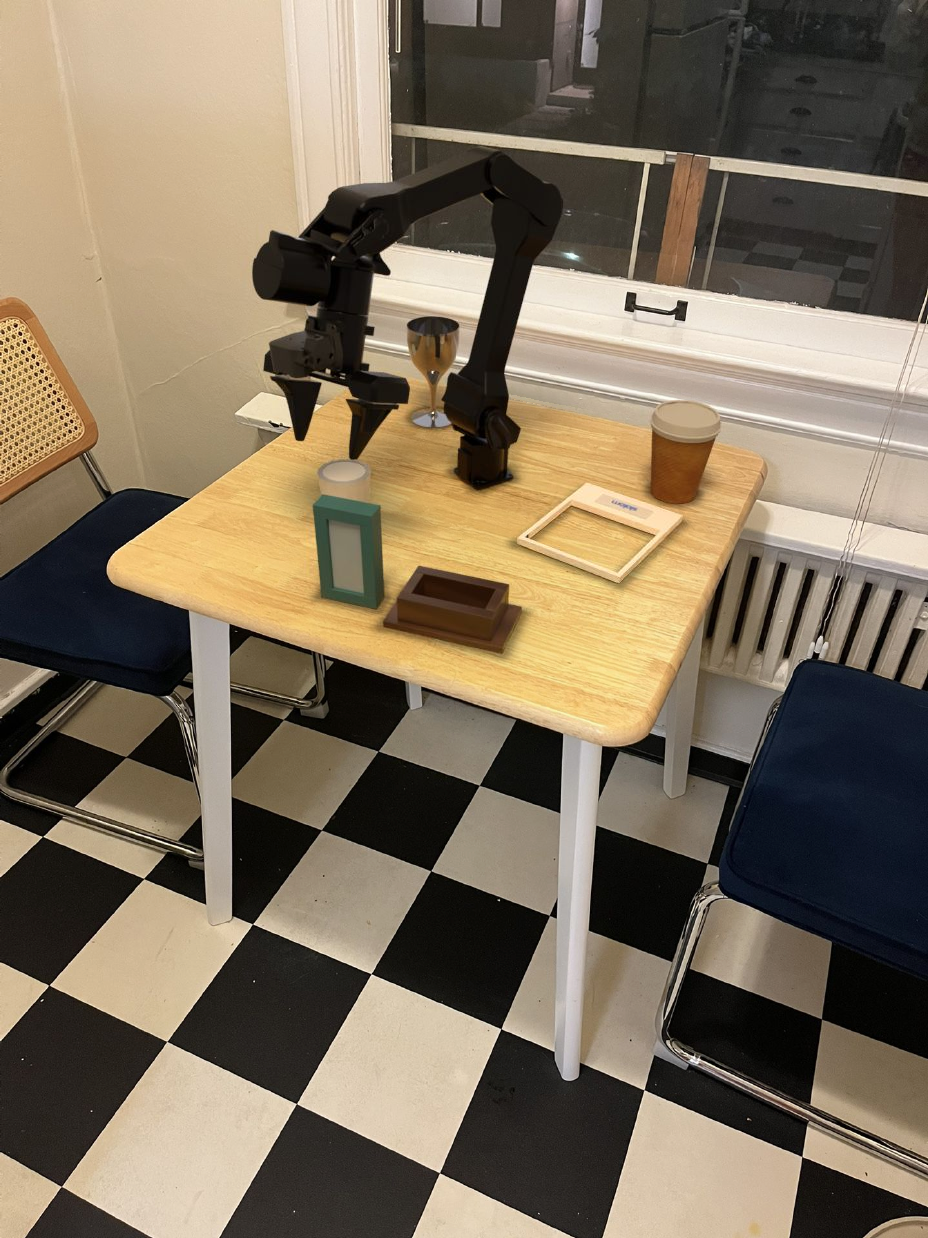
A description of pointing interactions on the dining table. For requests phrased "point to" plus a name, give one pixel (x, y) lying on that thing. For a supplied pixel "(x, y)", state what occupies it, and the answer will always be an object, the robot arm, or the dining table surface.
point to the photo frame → (614, 509)
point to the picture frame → (349, 550)
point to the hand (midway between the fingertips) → (325, 449)
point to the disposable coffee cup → (681, 448)
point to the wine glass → (432, 360)
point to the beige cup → (345, 479)
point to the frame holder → (455, 609)
